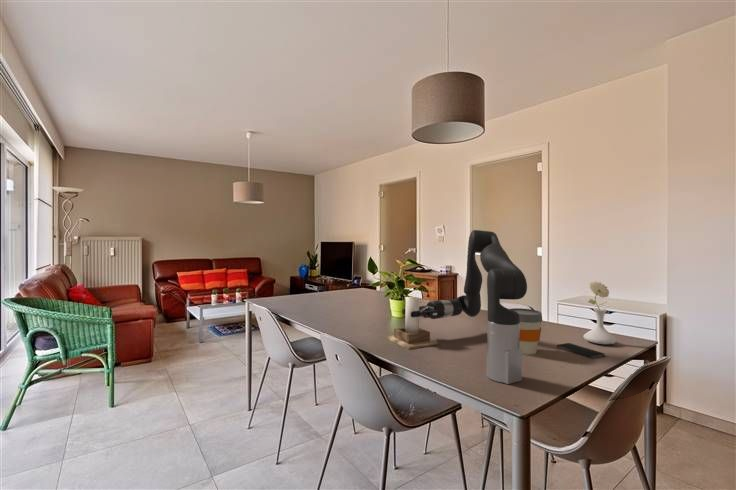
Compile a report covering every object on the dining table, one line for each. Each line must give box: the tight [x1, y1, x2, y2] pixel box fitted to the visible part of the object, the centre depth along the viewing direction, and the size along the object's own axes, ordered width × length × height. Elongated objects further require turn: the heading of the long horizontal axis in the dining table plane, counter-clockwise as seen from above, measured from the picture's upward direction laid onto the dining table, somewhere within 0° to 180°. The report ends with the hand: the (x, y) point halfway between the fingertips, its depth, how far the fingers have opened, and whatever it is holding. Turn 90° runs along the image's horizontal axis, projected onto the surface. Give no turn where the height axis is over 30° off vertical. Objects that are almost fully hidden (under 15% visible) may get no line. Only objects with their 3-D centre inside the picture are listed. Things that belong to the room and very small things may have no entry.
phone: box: [556, 342, 606, 359], centre depth 137 cm, size 8×1×15 cm
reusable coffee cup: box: [509, 307, 543, 356], centre depth 137 cm, size 12×13×15 cm
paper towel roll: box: [404, 296, 420, 334], centre depth 148 cm, size 6×6×15 cm
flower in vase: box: [583, 280, 617, 345], centre depth 149 cm, size 13×11×25 cm
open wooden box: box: [386, 327, 439, 350], centre depth 148 cm, size 16×14×4 cm
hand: (407, 313), depth 147 cm, fingers closed on paper towel roll, 5 cm apart
